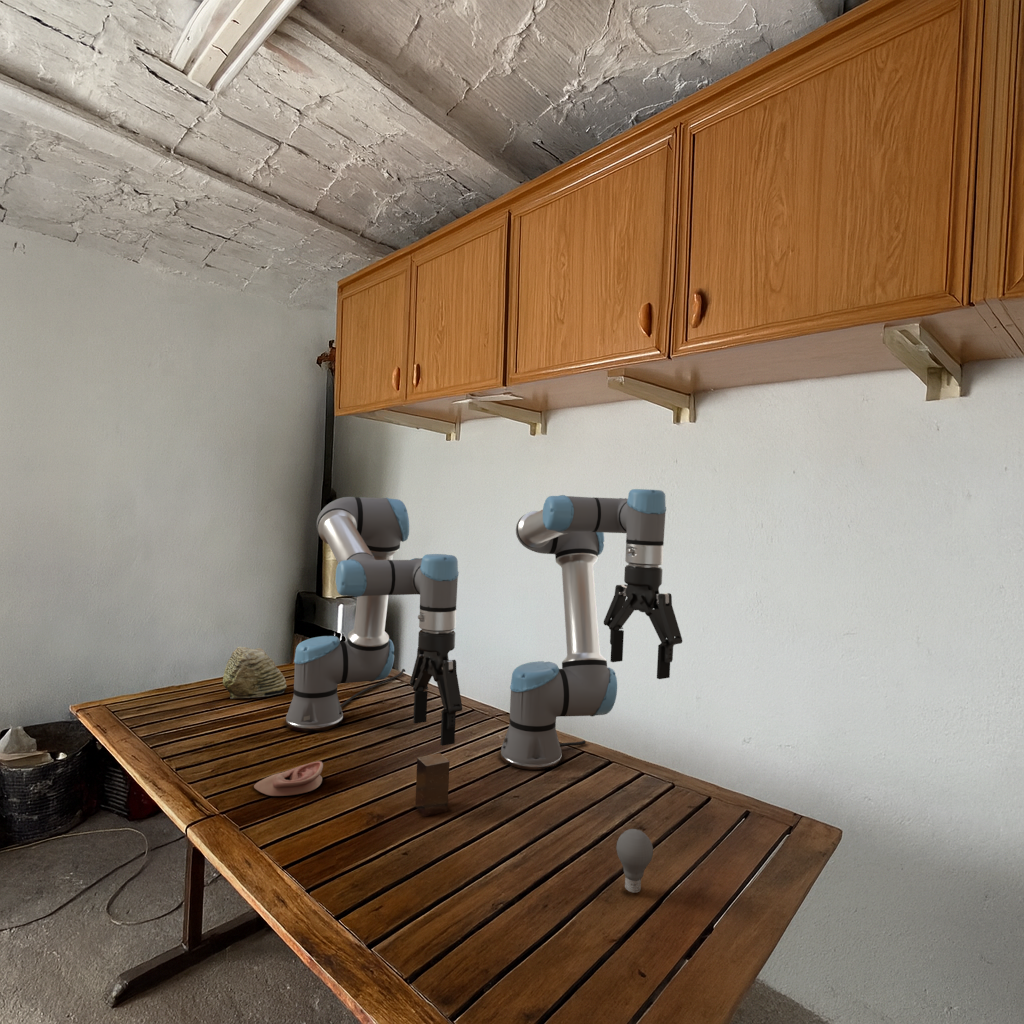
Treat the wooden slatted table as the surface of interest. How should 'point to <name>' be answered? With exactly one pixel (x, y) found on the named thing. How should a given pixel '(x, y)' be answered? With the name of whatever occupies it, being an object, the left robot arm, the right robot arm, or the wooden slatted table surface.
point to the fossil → (252, 674)
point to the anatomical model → (292, 781)
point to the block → (432, 784)
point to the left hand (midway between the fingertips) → (433, 732)
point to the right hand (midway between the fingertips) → (638, 669)
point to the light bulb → (634, 857)
